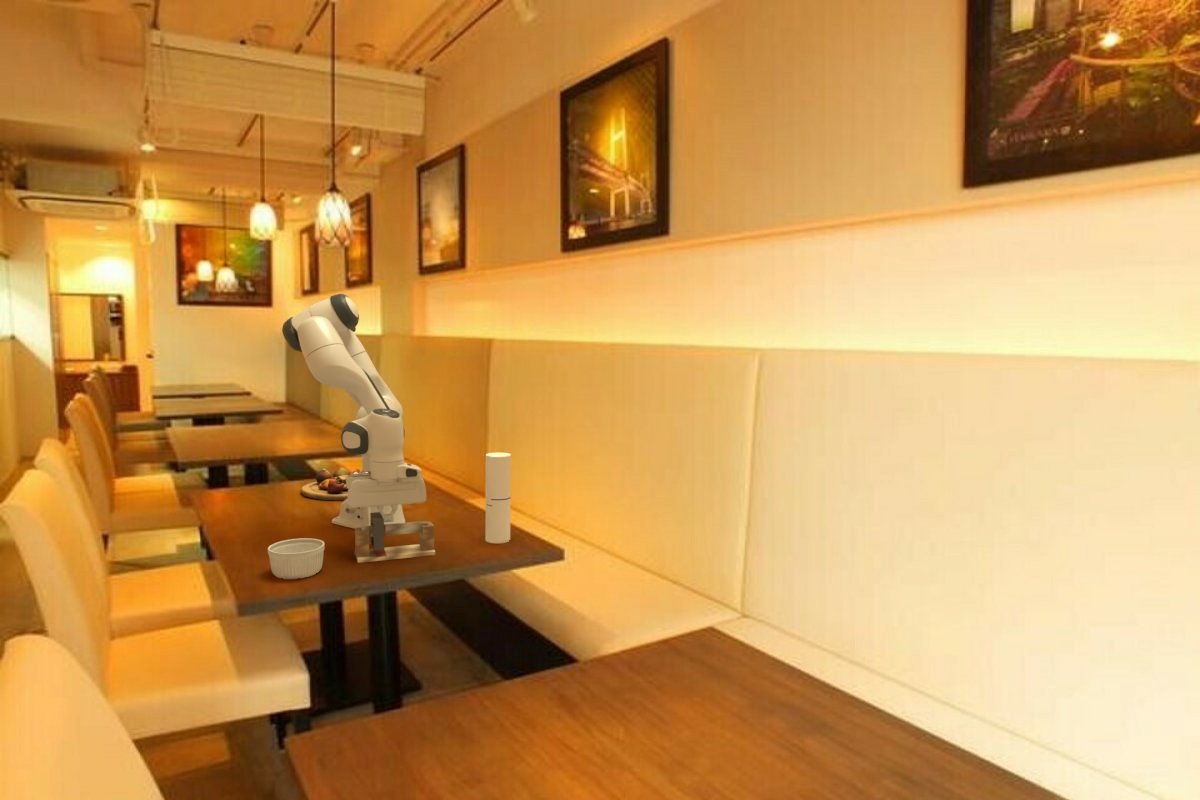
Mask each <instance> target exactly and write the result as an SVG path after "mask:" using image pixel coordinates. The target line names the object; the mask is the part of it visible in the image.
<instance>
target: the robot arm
mask: <svg viewBox="0 0 1200 800" xmlns="http://www.w3.org/2000/svg"><path fill="white" fill-rule="evenodd" d="M359 321H360V315H359V309H358V308H357V305H356V304H355V302H354V301H353V300H352V299H351V298H350V297H349V296H348V295H346V294H343V293H338V294H333V295H330V297H328V298H325V299H323V300H320V301H318V302H316V303H314V304H312V305H310V306H309V307H307V308H305V309H304V310H302V311H300V312H299V313H297V314H295V316H291V317H289V318H288V319H286V321H284V323H283V325H282V328H281V332H282V334H283V337H284V340H285V342H286V343H287V344H288V346H289V347H290V348H291V349H292V350H294V351H296V352H299V353H302V356H303V357H304V358H303V359H304V360H305V363H306V365H307V367H308V369H309V371H310V374H312V376H313V377H314V378H315V380H316V381H318V382H319V383H321V384H323V385H325V386H329V387H331V388H337V389H340V390H343V391H344V392H346V393H347V394H348V395H349V397H351V399H352V400H353V401H354V402H355V403H356V405H357V406H358V407H359V409H358V410H357V413H356V414H355V415H356V416H355V420H352V421H349V422H347V423H345V425H344V426H343V427H342V429H341V434H340V441H341V445H342V448H343V450H345V451H346V453H348V454H349V455H351V456H357V457H358V456H361V463H362V464H361V465H362V466H361V469H362V470H361V471H362V472H361V471H360V472H353V471H352V472H351V473H350V475H348V476H347V478H346V486H347V488H348V498H347V499H346V500H342V503H341V504H340V508H339V515H338V516H335V517H333V518H332V519H331V523H332V524H335V525H338V526H343V527H346V528H350V529H354V530H355V528H359V527H361V526H371V524H370V513H374V512H380V514H381V515H382V517H383V519H384V524H396V523H406V519H405V516H404V515H405V514H404V512H403V505H411V504H423V503H425V501H426V500H427V489H426V483H425V481H424V478H422V468H421V467H419V466H418V465H416V464H412V463H407V462H405V456H404V452H403V448H404V447H403V446H404V443H405V438H406V437H405V435H406V433H405V427H404V424H403V416H404V410H403V409H404V408H403V406H402V404H401V402H400V401H399V400H398V399H397V398H396V396H395V394H394V393H393V392H392V390H391V389H390V388H389V386H388V385H387V383H386V381H384V379H383V377H381V375H380V374H379V372H378V370H377V368H376V366H375V365H374V363H373V361H372V360H371V358H370V357H371V356H369V354H368V352H367V350H366V349H365V347H364V345H363V344H362V342H361V340H360V339H359V337H358V336H357V335H356V333H355V332H356V330H357V328H356V327H357V326H358V323H359ZM350 476H352V477H350Z"/></svg>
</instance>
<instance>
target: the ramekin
mask: <svg viewBox="0 0 1200 800" xmlns="http://www.w3.org/2000/svg"><path fill="white" fill-rule="evenodd" d="M325 544H326V543H325V541H324V540H322V539H317V538H307V537H304V538H302V537H301V538H292V539H286V540H281V541H277V542H275V543H273V544H271V545H268V547H267V555H268V558H269V564H270V569H271V573H272V574H273V575H274V576H275V577H276V578H277V579H281V578H283V579H284V580H298V578H300V579H304V578H305V577H306V578H309V577H312V576H314V575H317V574H318V573H319V572H320V571H321V570H322V567H323V563H324V553H325V552H324V551H325V546H326V545H325ZM316 573H317V574H316ZM283 579H282V580H283Z"/></svg>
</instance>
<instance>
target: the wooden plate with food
mask: <svg viewBox="0 0 1200 800" xmlns="http://www.w3.org/2000/svg"><path fill="white" fill-rule="evenodd" d="M353 472H362V470H361V471H360V469H359V468H358V469H357V468H356V469H355V470H353V471H352V473H353ZM350 474H351V472H350V471H349V470H348V469H346V468H345V467H342V466H341V467H339V468H337V469H336V470H335V471H334V472H333V474H331V472H329V470H327V469H326V468H322V469H320V470H319V471H318V472H317V473H316V475H315V481H314V482H310V483H306V484H305V485H303V486H302V487H301V488H300V492H301V494H302V495H303V496H305V497H308V498H311V499H315V500H316V499H317V500H326V501H344V500H346V499H347V498H348V488H347V486H346V478H347V476H348V475H350ZM350 477H352V476H350Z"/></svg>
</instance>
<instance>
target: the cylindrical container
mask: <svg viewBox="0 0 1200 800" xmlns="http://www.w3.org/2000/svg"><path fill="white" fill-rule="evenodd" d="M511 458H512V454H511V453H508V452H487V453H486V454H485V534H484V535H485V542H487V543H489V544H505V543H508V542H510V541H511V506H512V505H511V500H512V499H511V498H512V497H511V495H512V494H511V493H512V492H511V491H512V490H511V487H512V486H511V485H512V483H511V481H512V479H511V475H512V474H511V472H512V471H511V469H512V463H511V462H512V459H511ZM509 540H510V541H509Z"/></svg>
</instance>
